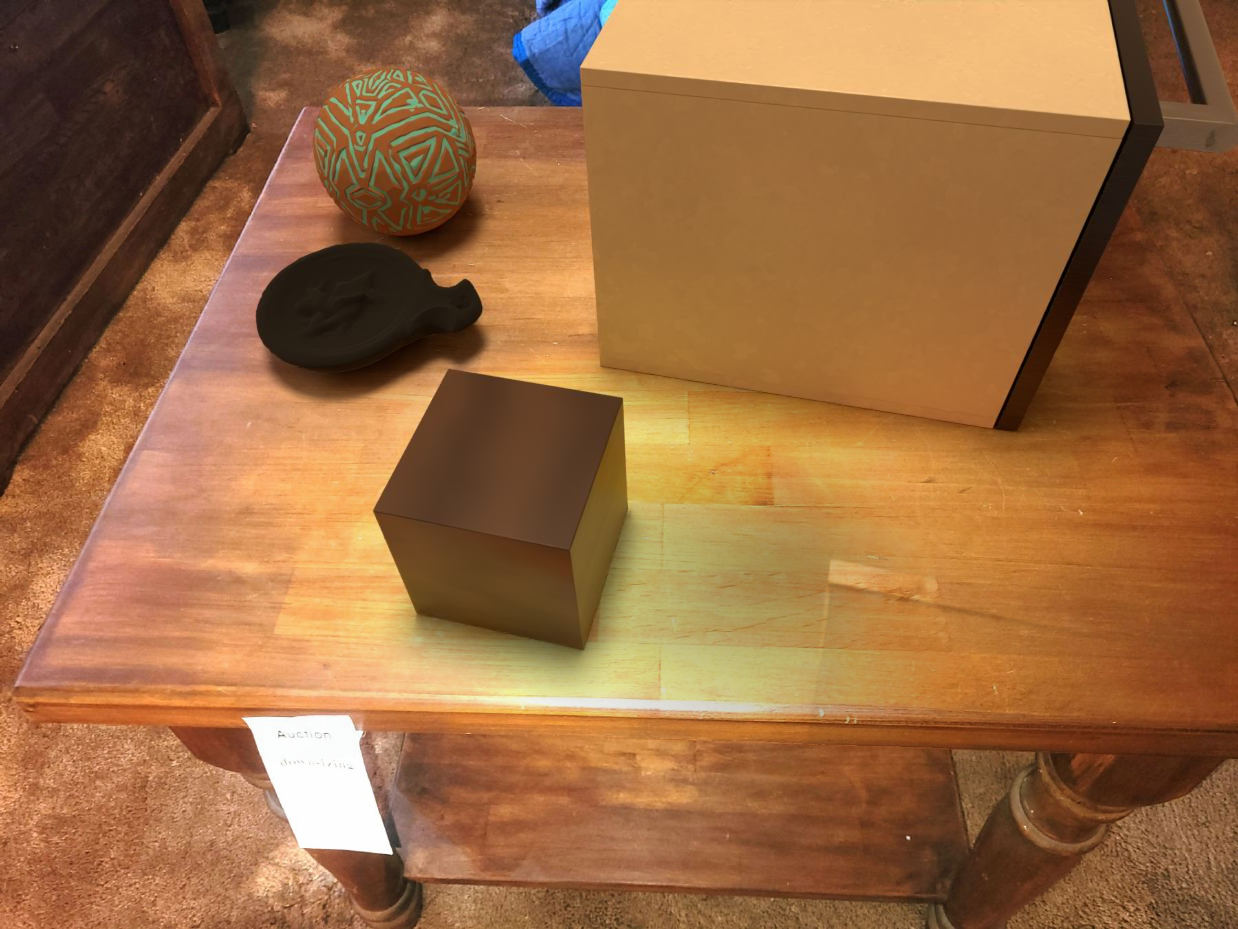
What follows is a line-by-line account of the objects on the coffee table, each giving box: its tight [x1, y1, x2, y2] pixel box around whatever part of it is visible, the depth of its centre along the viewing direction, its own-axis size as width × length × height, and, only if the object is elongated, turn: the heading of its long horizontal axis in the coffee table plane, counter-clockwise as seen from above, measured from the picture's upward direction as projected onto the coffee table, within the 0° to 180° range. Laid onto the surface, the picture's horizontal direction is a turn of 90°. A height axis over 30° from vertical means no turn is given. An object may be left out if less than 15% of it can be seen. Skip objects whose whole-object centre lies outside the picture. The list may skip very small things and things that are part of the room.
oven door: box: [995, 0, 1238, 432], centre depth 70 cm, size 8×40×26 cm, turn 165°
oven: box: [579, 0, 1131, 429], centre depth 74 cm, size 32×40×26 cm
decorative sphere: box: [312, 66, 478, 236], centre depth 83 cm, size 15×15×15 cm
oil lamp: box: [255, 241, 484, 374], centre depth 76 cm, size 15×20×5 cm
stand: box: [372, 368, 629, 651], centre depth 58 cm, size 12×12×12 cm
